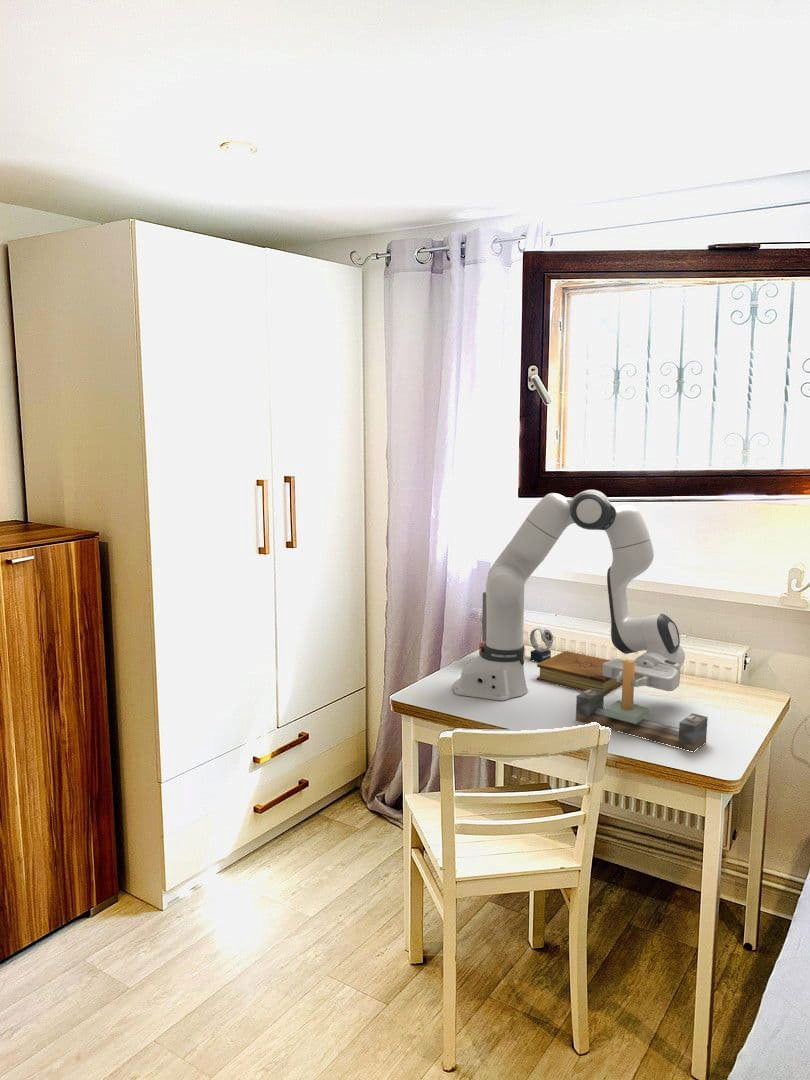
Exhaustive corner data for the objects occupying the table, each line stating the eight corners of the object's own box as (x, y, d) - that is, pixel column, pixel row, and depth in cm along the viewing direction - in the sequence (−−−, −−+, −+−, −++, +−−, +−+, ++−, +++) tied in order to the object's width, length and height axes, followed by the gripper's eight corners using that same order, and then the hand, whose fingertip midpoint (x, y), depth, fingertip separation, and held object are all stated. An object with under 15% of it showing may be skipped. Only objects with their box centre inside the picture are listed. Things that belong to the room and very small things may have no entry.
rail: (575, 720, 227) (576, 694, 225) (590, 711, 233) (590, 686, 231) (693, 752, 205) (695, 724, 204) (706, 742, 211) (707, 715, 210)
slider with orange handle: (604, 715, 221) (606, 661, 218) (618, 707, 226) (620, 654, 224) (635, 723, 215) (638, 668, 212) (649, 715, 221) (651, 661, 218)
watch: (546, 664, 275) (546, 632, 273) (526, 659, 280) (526, 627, 278) (555, 660, 279) (556, 628, 277) (535, 655, 284) (536, 624, 282)
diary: (631, 681, 259) (632, 664, 258) (603, 698, 245) (604, 679, 244) (566, 666, 274) (566, 649, 273) (536, 681, 260) (537, 663, 259)
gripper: (615, 650, 235) (591, 662, 225) (685, 665, 221) (663, 678, 211) (615, 672, 236) (591, 684, 226) (684, 688, 223) (662, 702, 212)
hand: (626, 682), depth 218 cm, fingers closed on slider with orange handle, 3 cm apart
